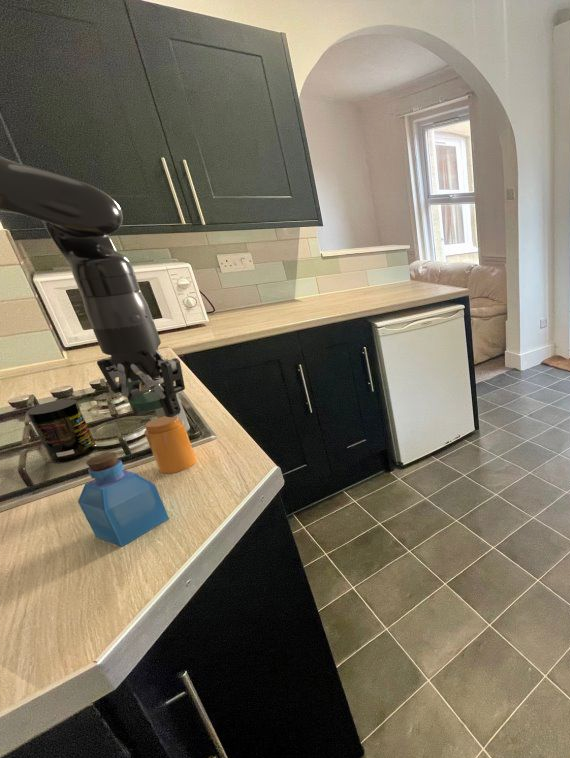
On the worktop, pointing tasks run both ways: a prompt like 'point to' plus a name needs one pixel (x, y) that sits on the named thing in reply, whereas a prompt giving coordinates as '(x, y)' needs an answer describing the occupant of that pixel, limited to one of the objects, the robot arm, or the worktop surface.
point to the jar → (170, 444)
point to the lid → (146, 402)
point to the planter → (180, 416)
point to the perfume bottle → (119, 501)
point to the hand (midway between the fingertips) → (158, 414)
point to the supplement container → (62, 430)
